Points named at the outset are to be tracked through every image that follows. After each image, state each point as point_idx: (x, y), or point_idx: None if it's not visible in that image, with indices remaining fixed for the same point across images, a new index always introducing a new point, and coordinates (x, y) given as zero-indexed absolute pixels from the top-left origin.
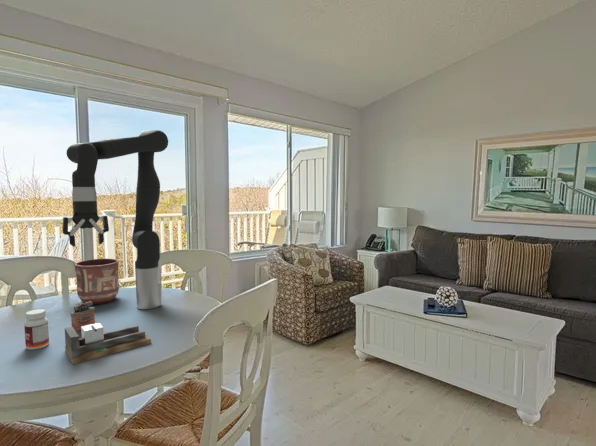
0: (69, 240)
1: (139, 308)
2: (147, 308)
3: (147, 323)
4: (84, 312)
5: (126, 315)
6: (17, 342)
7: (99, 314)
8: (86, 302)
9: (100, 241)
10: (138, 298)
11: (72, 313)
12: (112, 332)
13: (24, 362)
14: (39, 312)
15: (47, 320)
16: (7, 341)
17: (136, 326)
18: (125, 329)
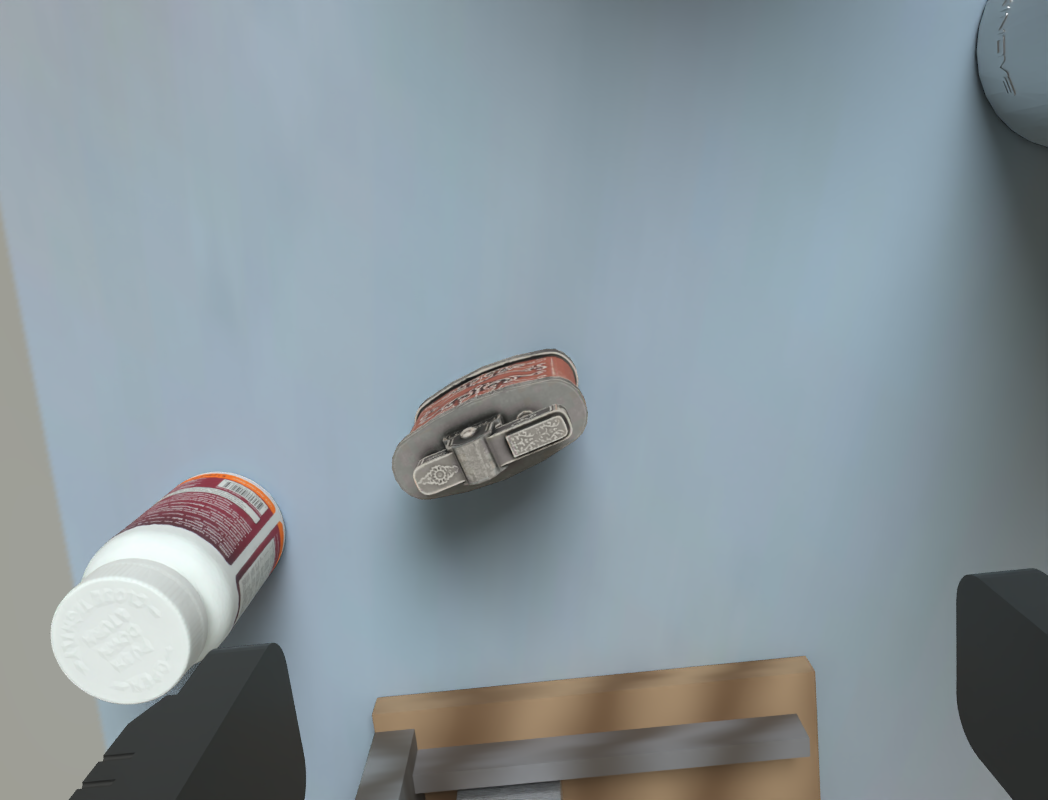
0: (81, 794)
1: (986, 90)
2: (1043, 143)
3: (911, 509)
4: (498, 477)
5: (837, 208)
6: (99, 380)
7: (649, 26)
8: (522, 436)
9: (1020, 783)
10: (1041, 66)
11: (407, 489)
12: (638, 772)
13: None
14: (150, 685)
15: (232, 618)
16: (33, 318)
17: (797, 755)
18: (721, 762)
